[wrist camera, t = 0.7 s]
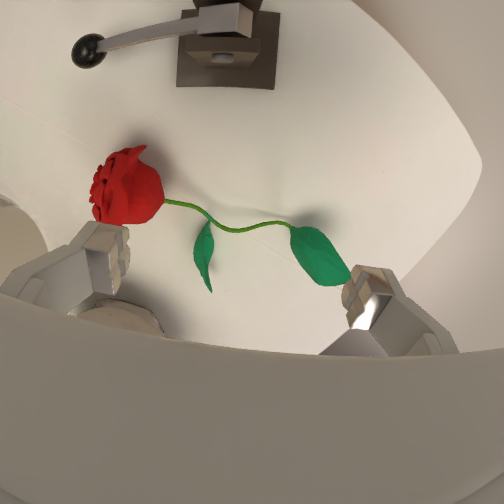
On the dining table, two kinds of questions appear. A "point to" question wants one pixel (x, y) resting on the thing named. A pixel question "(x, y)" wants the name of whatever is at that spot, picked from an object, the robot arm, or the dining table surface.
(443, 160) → the dining table surface
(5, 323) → the robot arm
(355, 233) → the dining table surface
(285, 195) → the dining table surface
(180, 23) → the lever
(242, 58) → the bracket
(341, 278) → the decorative flower
